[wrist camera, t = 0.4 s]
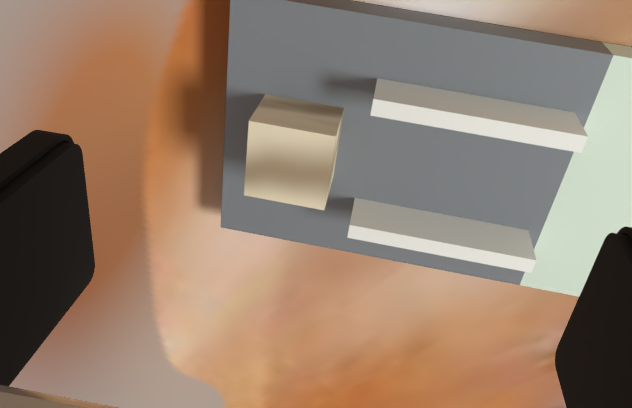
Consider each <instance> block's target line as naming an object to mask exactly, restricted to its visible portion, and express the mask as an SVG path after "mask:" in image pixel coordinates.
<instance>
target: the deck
mask: <svg viewBox="0 0 632 408" xmlns="http://www.w3.org/2000/svg"><path fill="white" fill-rule="evenodd" d="M265 94H269V95H274V96H280V97H286V98H291V99H297V100H302V101H308V102H314V103H319V104H325V105H331V106H336V107H342V108H344V113H343V119H342V125H341V131H340V138H339V144H338V150H337V156H336V162H335V169H334V175H333V180H332V183H331V187H330V191H329V195H328V198H327V202H326V206H325V210H319V209H314V208H309V207H303V206H298V205H293V204H287V203H282V202H277V201H272V200H266V199H261V198H256V197H250V196H245V195H244V186H245V171H246V156H247V141H248V126H249V120H250V118H251V117H252V115H253V113H254V112H255V110H256V108H257V107H258V105H259V104H260V102H261V100H262V99H263V97H264V96H265ZM625 226H626V227H632V47H629V46H623V45H617V44H611V43H605V42H599V41H593V40H587V39H581V38H575V37H568V36H562V35H556V34H550V33H544V32H538V31H532V30H526V29H520V28H514V27H508V26H502V25H496V24H490V23H484V22H478V21H472V20H466V19H460V18H454V17H448V16H442V15H436V14H430V13H424V12H418V11H411V10H405V9H399V8H393V7H387V6H381V5H375V4H369V3H363V2H357V1H351V0H230V19H229V42H228V66H227V90H226V114H225V137H224V161H223V185H222V209H221V227H222V228H228V229H233V230H238V231H243V232H248V233H253V234H259V235H264V236H269V237H274V238H279V239H284V240H290V241H295V242H300V243H305V244H310V245H315V246H321V247H326V248H331V249H336V250H341V251H346V252H352V253H357V254H362V255H367V256H372V257H377V258H383V259H388V260H393V261H398V262H403V263H408V264H414V265H419V266H424V267H429V268H434V269H439V270H445V271H450V272H455V273H460V274H465V275H470V276H476V277H481V278H486V279H491V280H496V281H501V282H507V283H512V284H517V285H522V286H527V287H532V288H538V289H543V290H548V291H553V292H558V293H563V294H569V295H574V296H579V297H580V294H581V292H582V290H583V287H584V285H585V283H586V281H587V278H588V276H589V274H590V271H591V269H592V267H593V264H594V262H595V260H596V258H597V255H598V253H599V251H600V248H601V246H602V244H603V242H604V240H605V238H606V236H607V235H608V234H609V233H618V231H619V230H620V229H621V228H623V227H625Z"/></svg>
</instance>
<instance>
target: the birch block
mask: <svg viewBox="0 0 632 408" xmlns="http://www.w3.org/2000/svg"><path fill="white" fill-rule="evenodd" d="M343 113H344V108H342V107H336V106H331V105H325V104H319V103H314V102H308V101H302V100H297V99H291V98H286V97H280V96H274V95H269V94H265V96H264V97H263V99H262V100H261V102H260V104H259V105H258V107H257V108H256V110H255V112H254V113H253V115H252V117H251V118H250V120H249V126H248V141H247V156H246V171H245V186H244V195H245V196H250V197H256V198H261V199H266V200H272V201H277V202H282V203H287V204H293V205H298V206H303V207H309V208H314V209H319V210H325V206H326V202H327V198H328V195H329V191H330V187H331V183H332V180H333V175H334V169H335V162H336V156H337V150H338V144H339V138H340V131H341V125H342V119H343Z"/></svg>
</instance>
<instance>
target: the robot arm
mask: <svg viewBox="0 0 632 408" xmlns="http://www.w3.org/2000/svg"><path fill="white" fill-rule="evenodd" d="M94 268H95V262H94V253H93V243H92V234H91V226H90V217H89V208H88V199H87V191H86V182H85V173H84V164H83V155H82V150H81V148H80V146H79V145H77V144H74V142H73V140H72V138H71V137H70V136H69V135H66V134H59V133H53V132H47V131H41V130H35V131H32V132H31V133H29V134H28V135H26V136H25V137H23V138H22V139H21V140H19V141H18V142H16V143H15V144H13V145H12V146H11V147H9V148H8V149H6V150H5V151H3V152H2V153H1V154H0V408H117V407H112V406H107V405H102V404H97V403H91V402H86V401H81V400H76V399H70V398H66V397H60V396H55V395H50V394H45V393H40V392H34V391H29V390H24V389H19V388H14V387H9V385H10V384H11V383H12V381H13V380H14V379H15V378H16V376H17V375H18V374H19V372H20V371H21V370H22V369H23V367H24V366H25V365H26V363H27V362H28V361H29V360H30V358H31V357H32V356H33V354H34V353H35V352H36V351H37V349H38V348H39V347H40V346H41V344H42V343H43V342H44V340H45V339H46V338H47V337H48V335H49V334H50V333H51V331H52V330H53V329H54V327H55V326H56V325H57V324H58V322H59V321H60V320H61V319H62V317H63V316H64V315H65V313H66V312H67V311H68V310H69V308H70V307H71V306H72V304H73V303H74V302H75V300H76V299H77V298H78V297H79V295H80V294H81V293H82V292H83V290H84V289H85V288H86V286H87V285H88V284H89V282H90V281H91V279H92V276H93V273H94ZM555 366H556V371H557V374H558V378H559V382H560V385H561V389H562V392H563V396H564V400H565V403H566V407H567V408H632V227H626V226H625V227H623V228H621V229H620V230H619V231H618V233H609V234H608V235H607V236H606V238H605V240H604V242H603V244H602V246H601V248H600V251H599V253H598V255H597V258H596V260H595V262H594V264H593V267H592V269H591V271H590V274H589V276H588V278H587V281H586V283H585V285H584V287H583V290H582V292H581V294H580V297H579V299H578V301H577V303H576V306H575V308H574V310H573V313H572V315H571V317H570V319H569V322H568V324H567V326H566V329H565V331H564V333H563V335H562V338H561V340H560V342H559V345H558V347H557V350H556V356H555Z"/></svg>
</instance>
